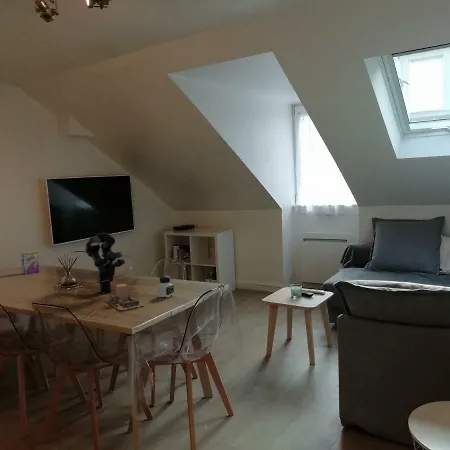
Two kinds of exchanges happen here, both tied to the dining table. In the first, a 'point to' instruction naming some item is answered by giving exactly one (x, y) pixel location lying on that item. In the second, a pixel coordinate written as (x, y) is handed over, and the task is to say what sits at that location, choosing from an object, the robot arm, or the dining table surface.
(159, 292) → the medicine bottle
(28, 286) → the dining table surface
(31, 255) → the candy bar box
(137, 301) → the walnut chute
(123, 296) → the terracotta block
